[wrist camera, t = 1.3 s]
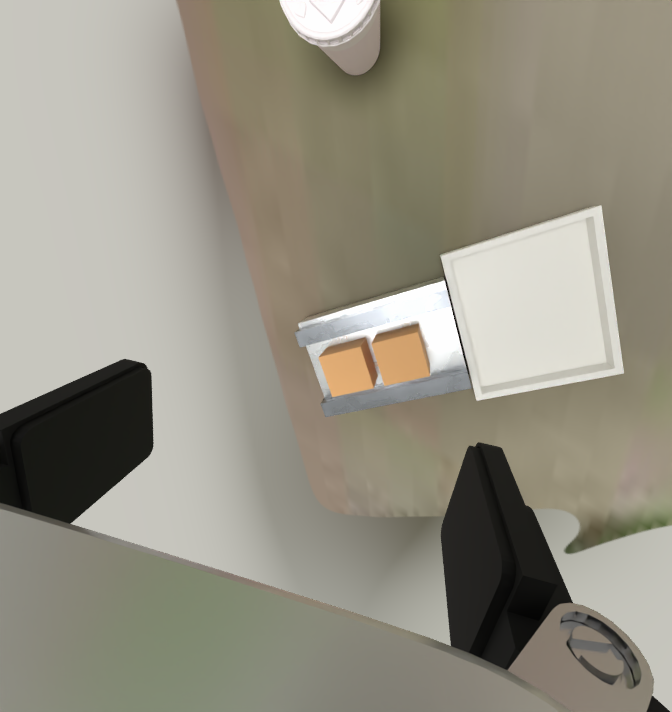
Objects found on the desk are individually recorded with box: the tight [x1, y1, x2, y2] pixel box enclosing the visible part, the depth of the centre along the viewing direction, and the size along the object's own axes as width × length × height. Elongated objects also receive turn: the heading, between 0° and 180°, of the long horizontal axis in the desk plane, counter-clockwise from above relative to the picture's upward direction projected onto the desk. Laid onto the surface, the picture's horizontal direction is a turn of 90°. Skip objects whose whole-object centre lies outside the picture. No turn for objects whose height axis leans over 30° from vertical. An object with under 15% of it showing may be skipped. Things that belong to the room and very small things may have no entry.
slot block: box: [295, 277, 471, 417], centre depth 35 cm, size 14×10×4 cm
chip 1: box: [318, 337, 378, 397], centre depth 34 cm, size 4×4×3 cm
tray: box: [440, 205, 624, 401], centre depth 32 cm, size 12×14×2 cm
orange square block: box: [371, 323, 430, 386], centre depth 32 cm, size 4×4×3 cm
